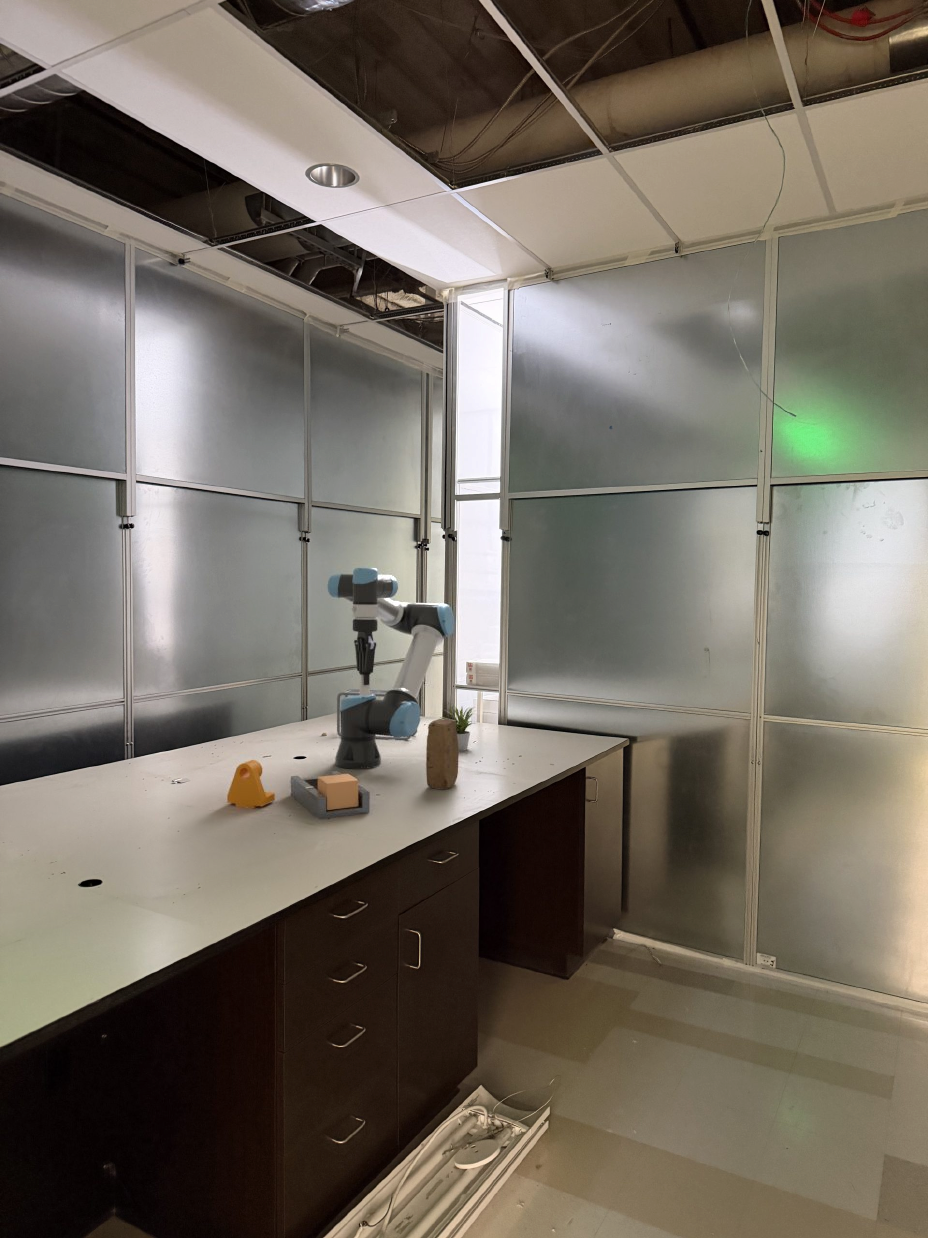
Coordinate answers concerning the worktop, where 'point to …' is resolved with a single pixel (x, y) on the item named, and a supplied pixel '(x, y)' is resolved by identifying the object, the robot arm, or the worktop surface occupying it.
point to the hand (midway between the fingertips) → (364, 695)
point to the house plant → (462, 727)
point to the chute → (316, 802)
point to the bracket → (249, 787)
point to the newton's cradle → (348, 692)
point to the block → (442, 754)
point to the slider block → (339, 791)
